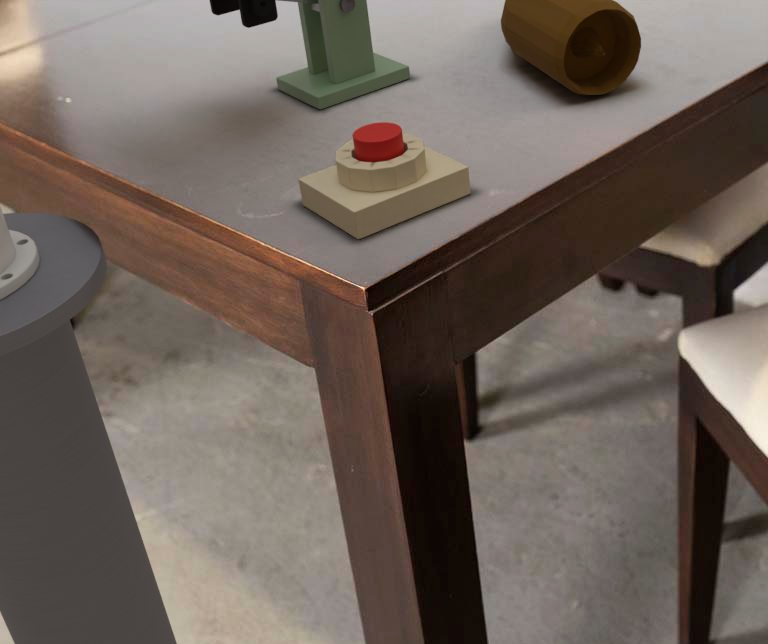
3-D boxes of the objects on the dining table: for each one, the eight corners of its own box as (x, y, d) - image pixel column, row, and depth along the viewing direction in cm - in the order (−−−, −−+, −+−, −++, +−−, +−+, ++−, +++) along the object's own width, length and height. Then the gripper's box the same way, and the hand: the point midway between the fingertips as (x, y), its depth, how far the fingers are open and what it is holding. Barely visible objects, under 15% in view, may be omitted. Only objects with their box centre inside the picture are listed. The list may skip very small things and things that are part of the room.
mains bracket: (319, 110, 100) (302, 0, 94) (277, 89, 106) (259, -15, 100) (410, 78, 104) (399, -29, 98) (365, 60, 110) (351, -42, 104)
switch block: (358, 240, 78) (350, 188, 76) (302, 205, 84) (293, 156, 82) (470, 193, 82) (466, 143, 80) (410, 163, 88) (405, 115, 86)
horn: (523, 41, 116) (642, 117, 96) (439, 12, 112) (546, 86, 92) (554, -35, 113) (684, 28, 93) (469, -67, 108) (586, -9, 88)
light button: (372, 169, 79) (369, 146, 78) (346, 155, 82) (343, 132, 81) (413, 153, 80) (411, 130, 79) (386, 140, 83) (384, 117, 82)
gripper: (119, -214, 91) (165, 10, 101) (209, -207, 79) (252, 47, 89) (200, -227, 94) (238, -9, 104) (300, -223, 82) (331, 24, 92)
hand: (244, 15), depth 96 cm, fingers closed on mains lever, 5 cm apart
